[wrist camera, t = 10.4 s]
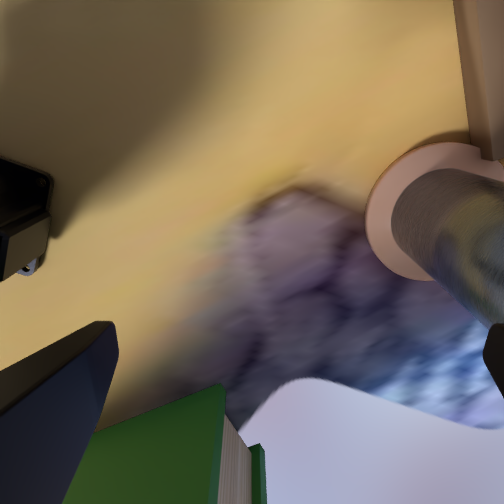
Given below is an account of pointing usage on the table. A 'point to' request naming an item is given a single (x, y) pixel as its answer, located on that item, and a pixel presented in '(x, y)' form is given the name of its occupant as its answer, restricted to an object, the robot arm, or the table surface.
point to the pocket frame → (483, 72)
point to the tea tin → (456, 236)
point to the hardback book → (172, 458)
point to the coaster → (399, 179)
